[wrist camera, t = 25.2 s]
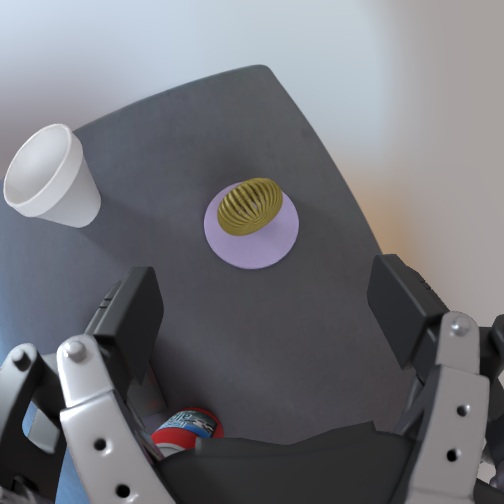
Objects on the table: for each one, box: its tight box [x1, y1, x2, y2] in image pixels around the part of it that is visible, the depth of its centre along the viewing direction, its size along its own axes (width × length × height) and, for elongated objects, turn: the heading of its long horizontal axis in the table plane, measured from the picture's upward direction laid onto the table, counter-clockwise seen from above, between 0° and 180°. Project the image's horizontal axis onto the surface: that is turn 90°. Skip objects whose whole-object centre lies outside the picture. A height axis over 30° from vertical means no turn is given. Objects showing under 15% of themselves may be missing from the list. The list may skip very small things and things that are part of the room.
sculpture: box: [217, 178, 283, 236], centre depth 31 cm, size 8×4×8 cm, turn 122°
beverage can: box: [151, 408, 224, 457], centre depth 23 cm, size 7×7×12 cm
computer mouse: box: [127, 363, 167, 417], centre depth 29 cm, size 8×14×4 cm, turn 24°
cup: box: [4, 124, 101, 228], centre depth 31 cm, size 12×12×14 cm
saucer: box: [204, 182, 299, 269], centre depth 36 cm, size 12×12×1 cm
